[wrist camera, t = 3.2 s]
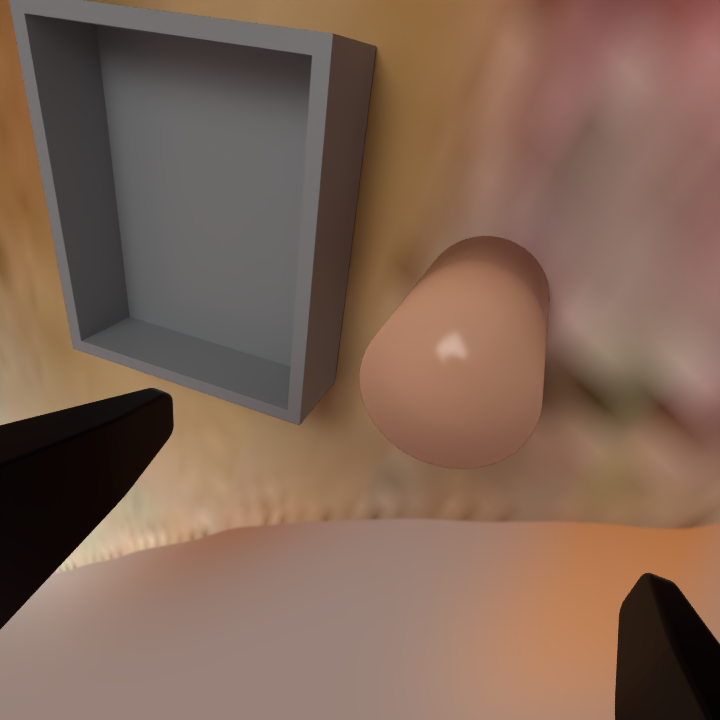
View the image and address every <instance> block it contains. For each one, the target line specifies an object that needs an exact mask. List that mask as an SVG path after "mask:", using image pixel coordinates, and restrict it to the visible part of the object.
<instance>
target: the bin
mask: <svg viewBox="0 0 720 720" xmlns="http://www.w3.org/2000/svg"><path fill="white" fill-rule="evenodd" d="M9 3H10V9H11V14H12V20H13V25H14V30H15V36H16V41H17V47H18V52H19V58H20V63H21V68H22V74H23V79H24V85H25V90H26V96H27V101H28V106H29V112H30V117H31V123H32V128H33V134H34V139H35V144H36V150H37V155H38V161H39V166H40V172H41V177H42V182H43V188H44V193H45V199H46V204H47V210H48V215H49V220H50V226H51V231H52V237H53V242H54V248H55V253H56V258H57V264H58V269H59V275H60V280H61V285H62V291H63V296H64V302H65V307H66V313H67V318H68V323H69V329H70V334H71V340H72V345H73V349H76V350H79V351H82V352H85V353H88V354H91V355H94V356H97V357H100V358H103V359H106V360H109V361H112V362H114V363H117V364H120V365H123V366H126V367H129V368H132V369H135V370H138V371H141V372H144V373H147V374H150V375H153V376H156V377H159V378H161V379H164V380H167V381H170V382H173V383H176V384H179V385H182V386H185V387H188V388H191V389H194V390H197V391H200V392H203V393H206V394H208V395H211V396H214V397H217V398H220V399H223V400H226V401H229V402H232V403H235V404H238V405H241V406H244V407H247V408H250V409H253V410H256V411H258V412H261V413H264V414H267V415H270V416H273V417H276V418H279V419H282V420H285V421H288V422H291V423H294V424H297V425H300V424H301V423H302V422H303V420H304V419H305V418H306V417H307V415H308V414H309V413H310V412H311V410H312V409H313V408H314V407H315V405H316V404H317V403H318V402H319V401H320V399H321V398H322V397H323V396H324V394H325V393H326V392H327V391H328V389H329V388H330V387H331V386H332V384H333V383H334V382H335V377H336V368H337V360H338V352H339V344H340V336H341V328H342V320H343V312H344V304H345V296H346V288H347V280H348V271H349V263H350V255H351V247H352V239H353V231H354V223H355V215H356V207H357V199H358V191H359V183H360V174H361V166H362V158H363V150H364V142H365V134H366V126H367V118H368V110H369V102H370V94H371V86H372V77H373V69H374V61H375V53H376V46H373V45H370V44H367V43H363V42H360V41H356V40H353V39H350V38H346V37H343V36H339V35H336V34H332V33H325V32H317V31H310V30H302V29H295V28H287V27H280V26H272V25H265V24H257V23H250V22H242V21H235V20H227V19H220V18H212V17H205V16H197V15H190V14H182V13H175V12H167V11H160V10H152V9H145V8H137V7H129V6H122V5H114V4H107V3H99V2H92V1H84V0H9Z"/></svg>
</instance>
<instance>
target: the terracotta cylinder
mask: <svg viewBox="0 0 720 720" xmlns="http://www.w3.org/2000/svg"><path fill="white" fill-rule="evenodd" d="M548 309H549V287H548V282H547V279H546V276H545V273H544V271H543V269H542V267H541V265H540V264H539V263H538V261H537V260H536V259H535V258H534V257H533V255H532V254H531V253H529V252H528V251H527V250H526V249H525V248H523V247H521V246H520V245H518V244H516V243H514V242H512V241H510V240H507V239H503V238H499V237H493V236H480V237H473V238H468V239H465V240H462V241H460V242H457V243H456V244H454V245H452V246H450V247H449V248H448V249H446V250H445V251H444V252H443V253H441V254H440V255H439V256H438V258H437V259H436V260H435V261H434V263H433V264H432V265H431V266H430V268H429V269H428V270H427V271H426V273H425V274H424V275H423V276H422V278H421V279H420V280H419V281H418V283H417V284H416V285H415V286H414V288H413V289H412V290H411V292H410V293H409V294H408V295H407V297H406V298H405V299H404V300H403V302H402V303H401V304H400V305H399V307H398V308H397V309H396V310H395V312H394V313H393V314H392V315H391V317H390V318H389V319H388V320H387V322H386V323H385V324H384V325H383V327H382V328H381V329H380V331H379V332H378V333H377V334H376V336H375V337H374V338H373V339H372V341H371V342H370V344H369V346H368V347H367V349H366V351H365V354H364V356H363V359H362V363H361V367H360V378H359V379H360V390H361V395H362V399H363V402H364V405H365V408H366V410H367V412H368V414H369V416H370V418H371V419H372V421H373V423H374V424H375V426H376V427H377V428H378V429H379V431H380V432H381V433H382V434H383V435H384V436H385V437H386V438H387V439H388V440H389V441H390V442H391V443H392V444H394V445H395V446H396V447H397V448H399V449H400V450H402V451H403V452H405V453H407V454H408V455H410V456H412V457H414V458H416V459H418V460H421V461H423V462H426V463H429V464H432V465H436V466H440V467H446V468H456V469H469V468H477V467H483V466H487V465H491V464H494V463H496V462H499V461H501V460H503V459H505V458H507V457H508V456H510V455H512V454H513V453H514V452H516V451H517V450H518V449H520V448H521V447H522V446H523V445H524V444H525V443H526V441H527V440H528V439H529V438H530V436H531V435H532V433H533V432H534V430H535V428H536V426H537V424H538V421H539V418H540V414H541V410H542V402H543V387H544V371H545V356H546V340H547V324H548Z"/></svg>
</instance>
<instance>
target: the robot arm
mask: <svg viewBox="0 0 720 720" xmlns="http://www.w3.org/2000/svg"><path fill="white" fill-rule="evenodd" d="M173 427H174V422H173V400H172V397H171V395H170V394H168V393H166V392H163V391H161V390H158V389H155V388H148V389H144V390H140V391H136V392H132V393H128V394H124V395H120V396H116V397H112V398H108V399H104V400H100V401H96V402H92V403H88V404H84V405H80V406H76V407H72V408H68V409H64V410H60V411H56V412H52V413H48V414H44V415H40V416H36V417H32V418H28V419H24V420H20V421H16V422H12V423H8V424H4V425H0V629H1V628H2V627H3V626H4V625H5V624H6V623H7V622H8V621H9V620H10V618H11V617H12V616H13V615H14V614H15V613H16V612H17V611H18V610H19V609H20V608H21V607H22V606H23V605H24V604H25V602H26V601H27V600H28V599H29V598H30V597H31V596H32V595H33V594H34V593H35V592H36V591H37V590H38V589H39V587H40V586H41V585H42V584H43V583H44V582H45V581H46V580H47V579H48V578H49V577H50V576H51V575H52V574H53V573H54V571H55V570H56V569H57V568H58V567H59V566H60V565H61V564H62V563H63V562H64V561H65V560H66V559H67V558H68V556H69V555H70V554H71V553H72V552H73V551H74V550H75V549H76V548H77V547H78V546H79V545H80V544H81V543H82V541H83V540H84V539H85V538H86V537H87V536H88V535H89V534H90V533H91V532H92V531H93V530H94V529H95V528H96V526H97V525H98V524H99V523H100V522H101V521H102V520H103V519H104V518H105V517H106V516H107V515H108V514H109V513H110V511H111V510H112V509H113V508H114V507H115V506H116V505H117V504H118V503H119V502H120V501H121V499H122V498H123V497H124V496H125V495H126V494H127V492H128V491H129V490H130V489H131V487H132V486H133V485H134V484H135V482H136V481H137V480H138V478H139V477H140V476H141V474H142V473H143V472H144V470H145V469H146V468H147V466H148V465H149V464H150V463H151V461H152V460H153V459H154V457H155V456H156V455H157V453H158V452H159V451H160V449H161V448H162V447H163V445H164V444H165V443H166V442H167V440H168V439H169V437H170V436H171V434H172V431H173ZM615 720H720V644H719V642H718V641H717V640H716V638H715V637H714V636H713V634H712V633H711V632H710V630H709V629H708V628H707V626H706V625H705V623H704V622H703V621H702V619H701V618H700V617H699V615H698V614H697V613H696V611H695V610H694V608H693V607H692V606H691V604H690V603H689V602H688V600H687V599H686V598H685V596H684V595H683V594H682V592H681V591H680V589H679V588H678V587H677V586H676V584H675V583H673V582H672V581H670V580H667V579H665V578H662V577H659V576H657V575H654V574H651V573H645V574H643V575H642V576H641V577H640V579H639V580H638V581H637V583H636V584H635V586H634V587H633V589H632V590H631V591H630V593H629V594H628V595H627V597H626V598H625V600H624V601H623V603H622V606H621V609H620V613H619V629H618V651H617V671H616V691H615Z"/></svg>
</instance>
